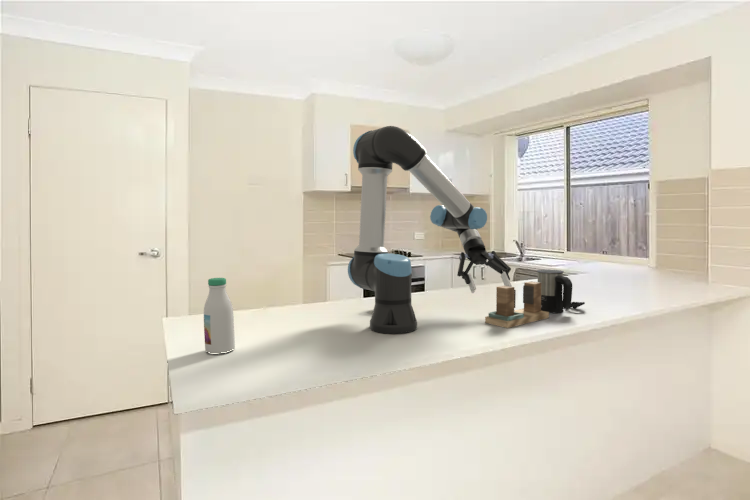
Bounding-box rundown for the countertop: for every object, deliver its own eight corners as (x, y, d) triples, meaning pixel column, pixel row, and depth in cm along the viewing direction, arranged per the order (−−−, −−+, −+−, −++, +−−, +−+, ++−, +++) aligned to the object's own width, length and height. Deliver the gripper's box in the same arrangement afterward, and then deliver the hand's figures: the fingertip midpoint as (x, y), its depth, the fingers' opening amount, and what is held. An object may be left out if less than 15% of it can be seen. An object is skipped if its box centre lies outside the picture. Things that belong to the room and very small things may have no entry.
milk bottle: (238, 346, 129) (235, 276, 127) (230, 355, 121) (227, 280, 119) (210, 347, 128) (207, 276, 127) (201, 355, 121) (197, 281, 119)
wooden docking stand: (507, 328, 144) (507, 290, 143) (485, 322, 151) (485, 286, 150) (548, 317, 156) (549, 283, 155) (526, 313, 164) (527, 280, 163)
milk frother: (531, 310, 168) (531, 270, 167) (552, 304, 178) (553, 266, 177) (569, 317, 157) (570, 274, 156) (589, 310, 168) (590, 270, 167)
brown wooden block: (505, 319, 148) (506, 288, 147) (496, 316, 151) (496, 286, 150) (515, 316, 150) (516, 286, 149) (506, 314, 153) (506, 285, 153)
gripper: (498, 249, 178) (519, 293, 164) (439, 251, 172) (455, 298, 158) (506, 236, 172) (528, 281, 159) (444, 238, 166) (462, 285, 153)
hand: (491, 289), depth 159 cm, fingers open, 13 cm apart
